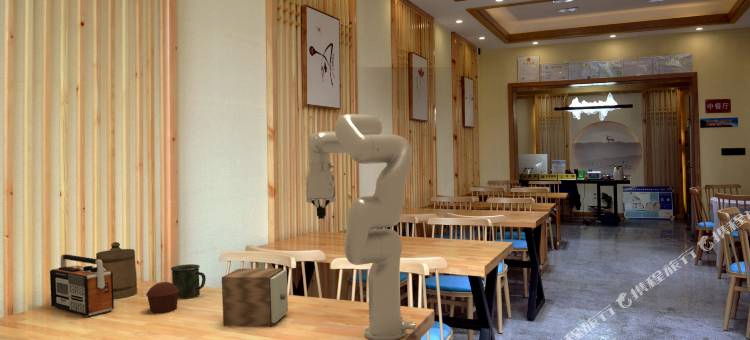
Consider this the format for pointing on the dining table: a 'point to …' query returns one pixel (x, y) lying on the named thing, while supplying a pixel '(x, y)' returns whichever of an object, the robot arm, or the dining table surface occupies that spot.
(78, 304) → the radio cassette player
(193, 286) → the mug
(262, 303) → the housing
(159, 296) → the muffin
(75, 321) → the dining table surface
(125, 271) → the wooden container
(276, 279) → the drawer
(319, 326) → the dining table surface
